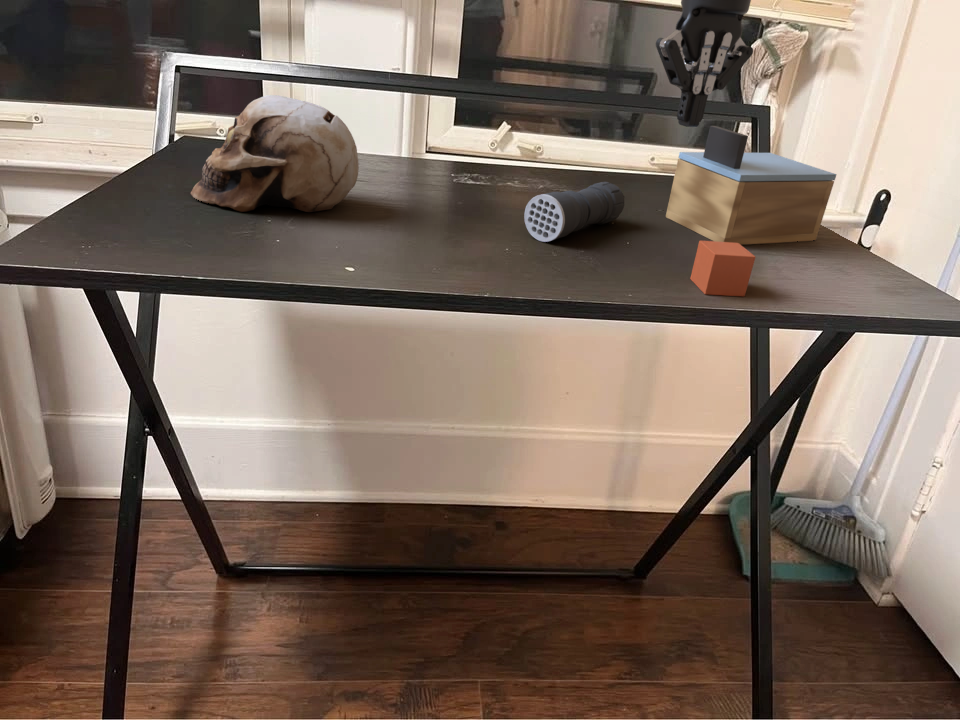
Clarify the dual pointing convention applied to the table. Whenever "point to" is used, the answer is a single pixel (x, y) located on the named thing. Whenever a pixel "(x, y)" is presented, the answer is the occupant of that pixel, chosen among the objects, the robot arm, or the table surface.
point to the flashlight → (572, 210)
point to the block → (722, 268)
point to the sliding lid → (749, 161)
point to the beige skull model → (281, 159)
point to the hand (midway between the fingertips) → (688, 125)
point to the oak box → (746, 207)
